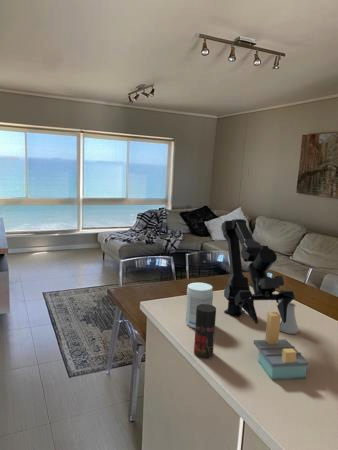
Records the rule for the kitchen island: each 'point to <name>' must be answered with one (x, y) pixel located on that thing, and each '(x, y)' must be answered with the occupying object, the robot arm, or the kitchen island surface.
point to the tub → (282, 370)
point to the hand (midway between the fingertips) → (271, 323)
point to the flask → (289, 321)
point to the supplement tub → (197, 300)
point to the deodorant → (204, 331)
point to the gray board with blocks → (278, 346)
